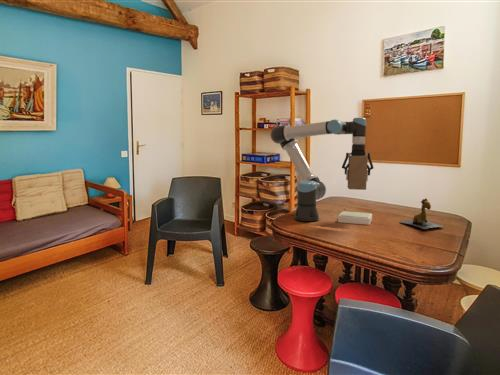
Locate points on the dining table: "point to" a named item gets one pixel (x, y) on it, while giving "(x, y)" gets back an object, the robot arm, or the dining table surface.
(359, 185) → the wooden block
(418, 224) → the stuffed giraffe
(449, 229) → the dining table surface
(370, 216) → the picture frame
